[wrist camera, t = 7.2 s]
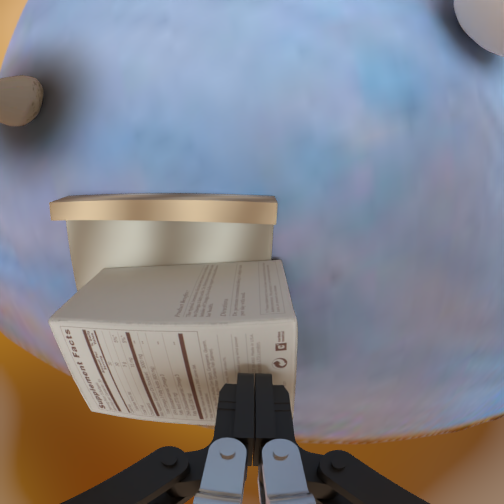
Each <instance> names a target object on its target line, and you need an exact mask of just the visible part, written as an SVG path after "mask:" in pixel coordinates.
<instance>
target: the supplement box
mask: <svg viewBox="0 0 504 504" xmlns="http://www.w3.org/2000/svg"><path fill="white" fill-rule="evenodd" d="M49 325H50V327H51V330H52V332H53V334H54V337H55V339H56V341H57V344H58V346H59V348H60V350H61V352H62V355H63V357H64V359H65V361H66V363H67V366H68V368H69V370H70V372H71V374H72V376H73V378H74V380H75V382H76V384H77V386H78V388H79V390H80V392H81V394H82V395H83V397H84V399H85V401H86V403H87V404H88V406H89V408H90V410H91V411H93V412H99V413H104V414H109V415H114V416H121V417H127V418H134V419H140V420H149V421H157V422H168V423H179V424H194V425H215V423H216V415H217V406H218V398H219V391H220V390H221V388H222V387H223V386H224V384H225V383H227V384H237V375H238V373H254V383H255V373H264V374H272V383H273V385H284V387H285V388H286V390H287V391H288V392H289V397H290V405H291V413H292V419H293V412H294V399H295V384H296V366H297V339H298V326H297V318H296V315H295V312H294V309H293V305H292V300H291V296H290V292H289V288H288V284H287V280H286V276H285V272H284V268H283V264H282V261H281V260H268V261H248V262H230V263H211V264H190V265H169V266H147V267H123V268H104V269H102V270H101V271H100V272H99V273H98V274H97V275H96V276H95V277H93V278H92V279H91V280H90V281H89V282H88V283H87V284H86V285H84V286H83V287H82V288H81V289H79V291H78V292H77V293H76V294H75V295H73V296H72V297H71V298H70V299H69V300H68V301H67V302H66V303H65V304H64V305H63V306H62V307H61V308H60V309H58V310H57V311H56V312H55V313H54V314H53V315H52V316H51V317H50V319H49Z"/></svg>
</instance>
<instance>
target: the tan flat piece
mask: <svg viewBox="0 0 504 504" xmlns="http://www.w3.org/2000/svg"><path fill="white" fill-rule="evenodd" d="M49 205H50V215H51V220H66V225H67V233H68V240H69V247H70V254H71V260H72V266H73V271H74V277H75V282H76V287H77V291H79V289H81V288H82V287H83V286H84V285H86V284H87V283H88V282H89V281H90V280H91V279H92V278H93V277H95V276H96V275H97V274H98V273H99V272H100V271H101V270H102V269H104V268H123V267H147V266H169V265H190V264H211V263H230V262H248V261H268V260H271V254H272V239H273V225H276V218H277V201H276V199H275V196H261V195H236V194H191V193H145V194H102V195H79V196H67V197H64V198H61V199H58V200H55V201H53V202H50V203H49Z"/></svg>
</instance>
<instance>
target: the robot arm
mask: <svg viewBox="0 0 504 504" xmlns="http://www.w3.org/2000/svg"><path fill="white" fill-rule="evenodd" d="M252 454H253V466H258V470H259V471H258V489H259V498H260V504H430V503H427V502H426V501H424V500H422V499H420V498H419V497H417V496H415V495H414V494H411V493H410V492H408V491H407V490H405V489H403V488H402V487H400V486H398V485H397V484H395V483H393V482H392V481H390V480H389V479H387V478H385V477H384V476H382V475H380V474H379V473H378V472H376V471H375V470H373V469H371V468H370V467H368V466H367V465H365V464H364V463H362V462H361V461H360V460H358V459H356V458H355V457H354V456H352V455H351V454H349V453H348V452H345V451H342V450H335V451H330V452H328V453H326V454H325V455H320V454H315V453H310V452H307V451H305V450H303V449H302V448H300V447H299V446H298V444H297V443H296V441H295V437H294V429H293V421H292V413H291V405H290V397H289V392H288V391H287V390H286V388H285V387H284V385H273V383H272V374H264V373H255V383H254V373H238V375H237V384H227V383H225V384H224V386H223V387H222V388H221V390H220V391H219V398H218V406H217V415H216V423H215V431H214V438H213V440H212V442H211V443H210V444H209V445H208V446H207V447H206V448H204V449H201V450H198V451H192V452H185V453H184V452H183V451H182V450H181V449H179V448H176V447H172V446H166V447H162V448H159V449H157V450H156V451H154V452H153V453H151V454H150V455H148V456H146V457H145V458H143V459H142V460H140V461H138V462H137V463H135V464H133V465H132V466H130V467H128V468H127V469H125V470H123V471H122V472H120V473H118V474H116V475H115V476H113V477H111V478H110V479H108V480H106V481H104V482H102V483H100V484H99V485H97V486H95V487H93V488H91V489H89V490H87V491H85V492H83V493H81V494H79V495H77V496H75V497H73V498H71V499H69V500H67V501H65V502H63V503H61V504H184V503H185V502H186V501H188V500H189V499H190V498H192V497H193V496H195V498H194V502H193V504H242V499H243V492H244V483H245V481H246V477H247V466H251V465H252Z"/></svg>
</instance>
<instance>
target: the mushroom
mask: <svg viewBox="0 0 504 504" xmlns="http://www.w3.org/2000/svg"><path fill="white" fill-rule="evenodd" d="M42 100H43V87H42V85H41V83H40V82H39V81H38V80H37V79H36V78H34V77H30V76H24V75H20V76H13V77H6V78H1V79H0V122H1V123H3V124H5V125H8V126H24V125H26V124H27V123H29V122H30V121H32V120H33V119H35V117H36V116H37V115H38V113H39V111H40V108H41V105H42Z"/></svg>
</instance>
